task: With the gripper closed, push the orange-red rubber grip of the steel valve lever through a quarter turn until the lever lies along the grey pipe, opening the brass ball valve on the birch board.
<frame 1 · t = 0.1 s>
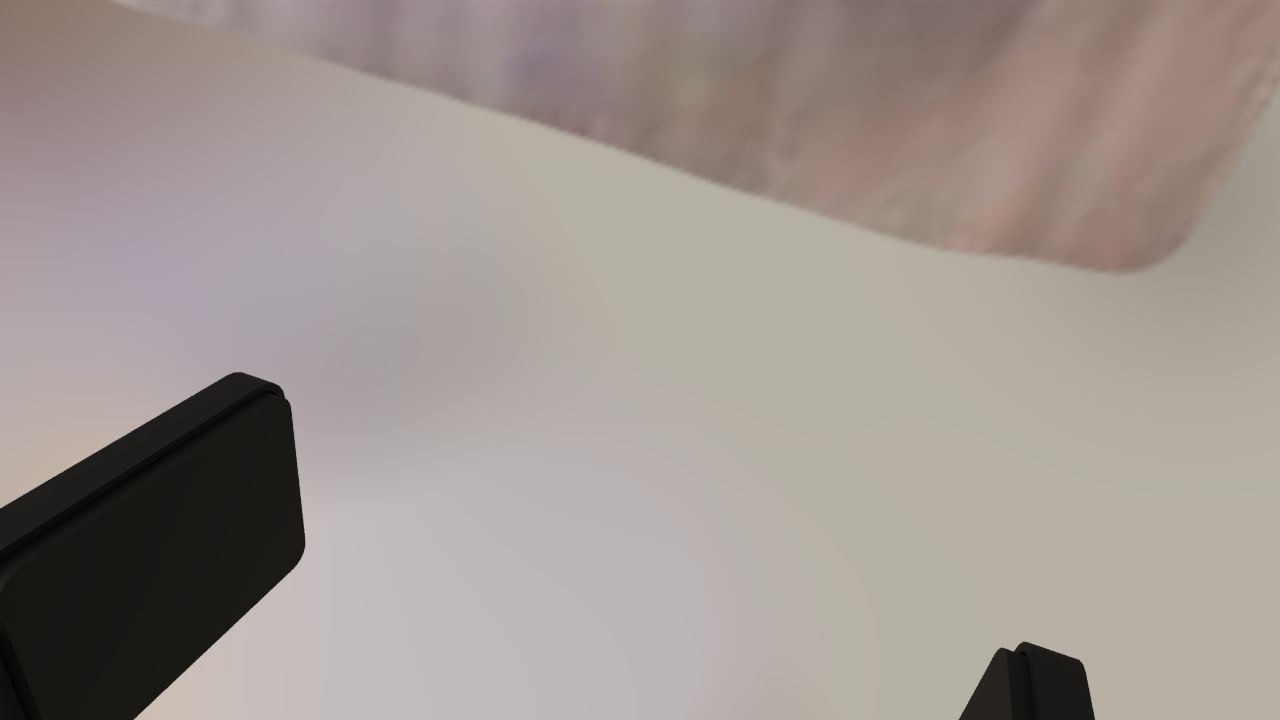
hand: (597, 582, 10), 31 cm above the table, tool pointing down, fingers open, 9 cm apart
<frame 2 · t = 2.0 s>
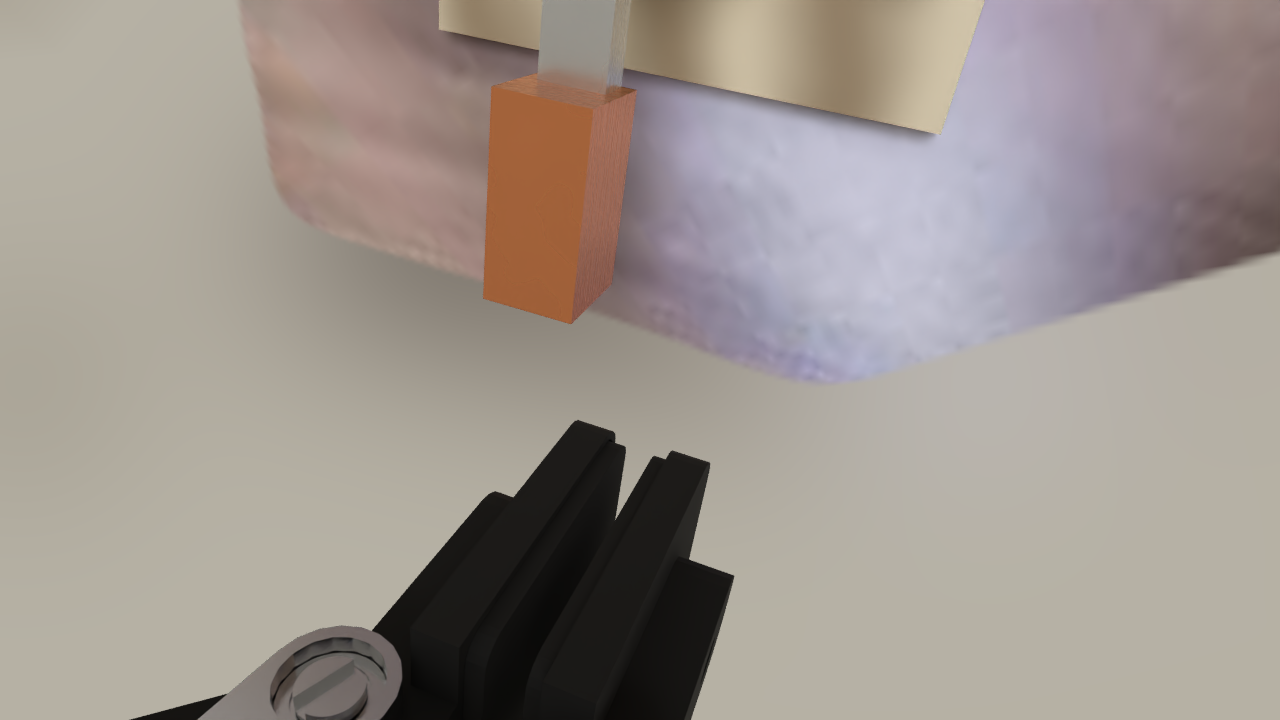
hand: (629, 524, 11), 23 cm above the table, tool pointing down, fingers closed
lever: (572, 36, 20), point 11 cm above the table, hinge at 90.0°
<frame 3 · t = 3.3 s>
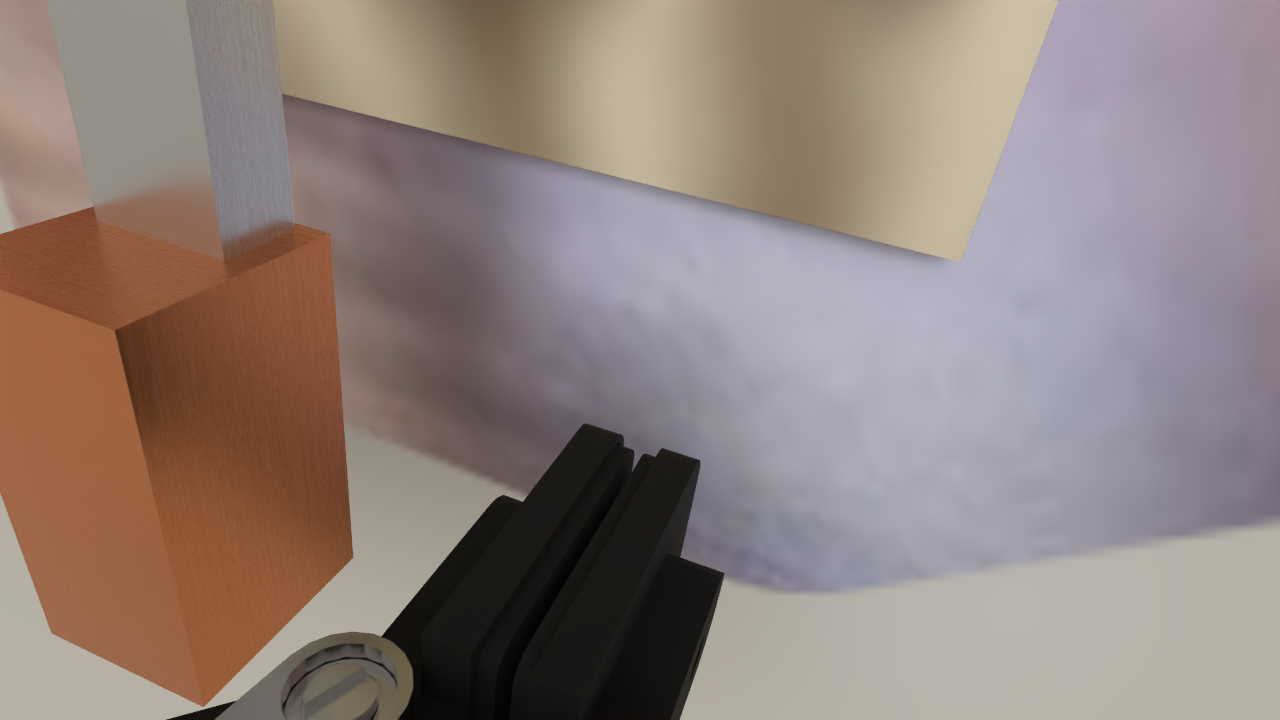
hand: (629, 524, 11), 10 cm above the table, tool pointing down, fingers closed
lever: (123, 138, 9), point 11 cm above the table, hinge at 90.0°
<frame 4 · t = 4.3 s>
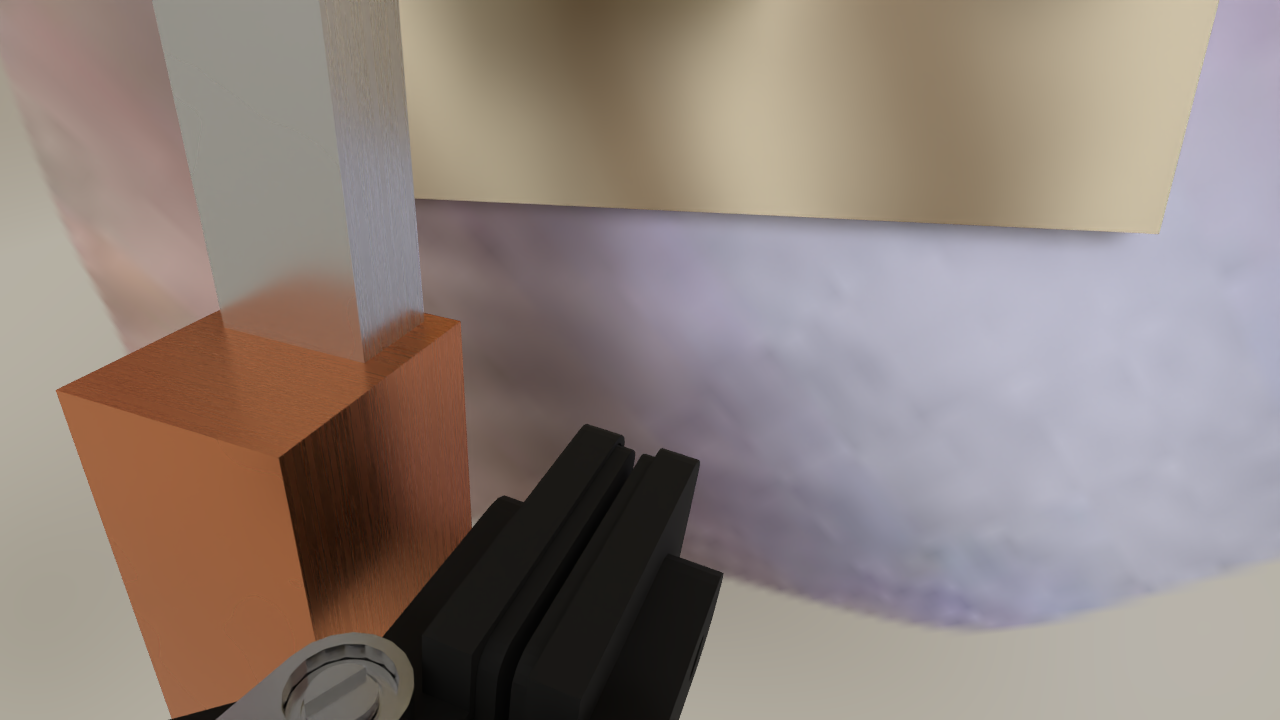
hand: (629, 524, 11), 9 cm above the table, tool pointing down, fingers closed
lever: (260, 245, 8), point 11 cm above the table, hinge at 83.0°, touching gripper
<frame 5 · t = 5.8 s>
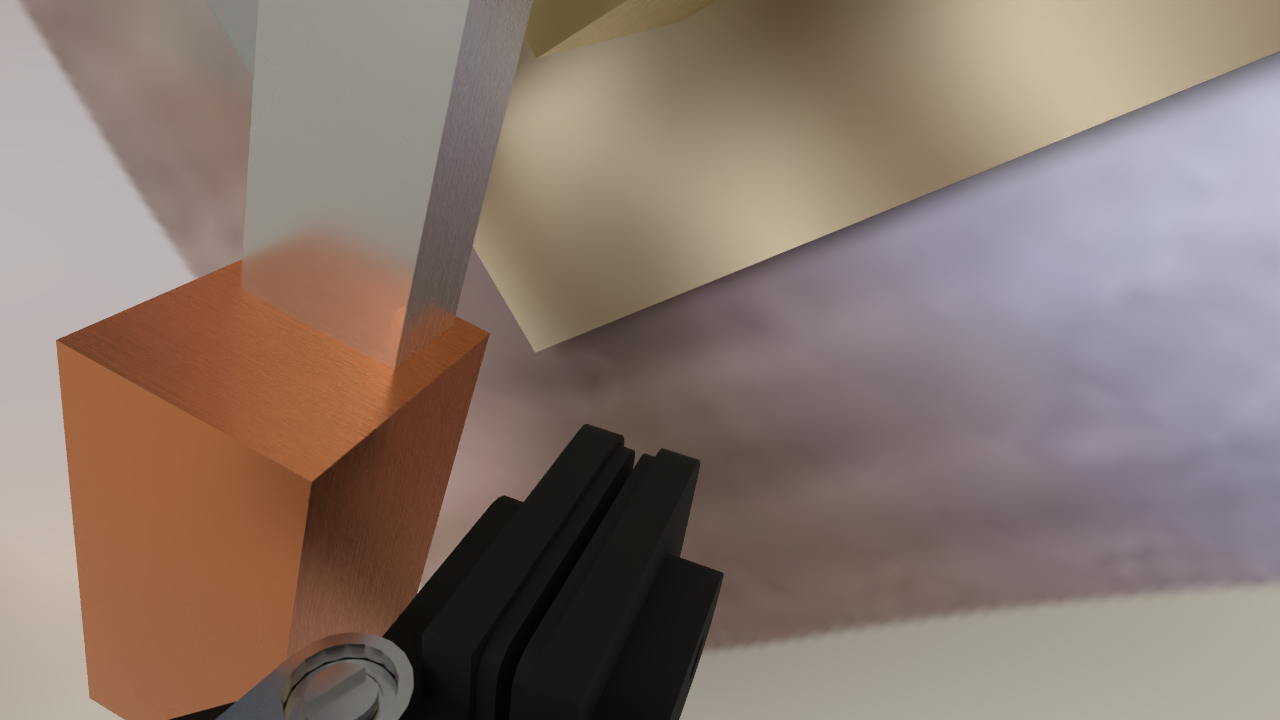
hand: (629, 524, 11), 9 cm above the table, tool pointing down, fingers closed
lever: (316, 230, 8), point 11 cm above the table, hinge at 40.4°, touching gripper
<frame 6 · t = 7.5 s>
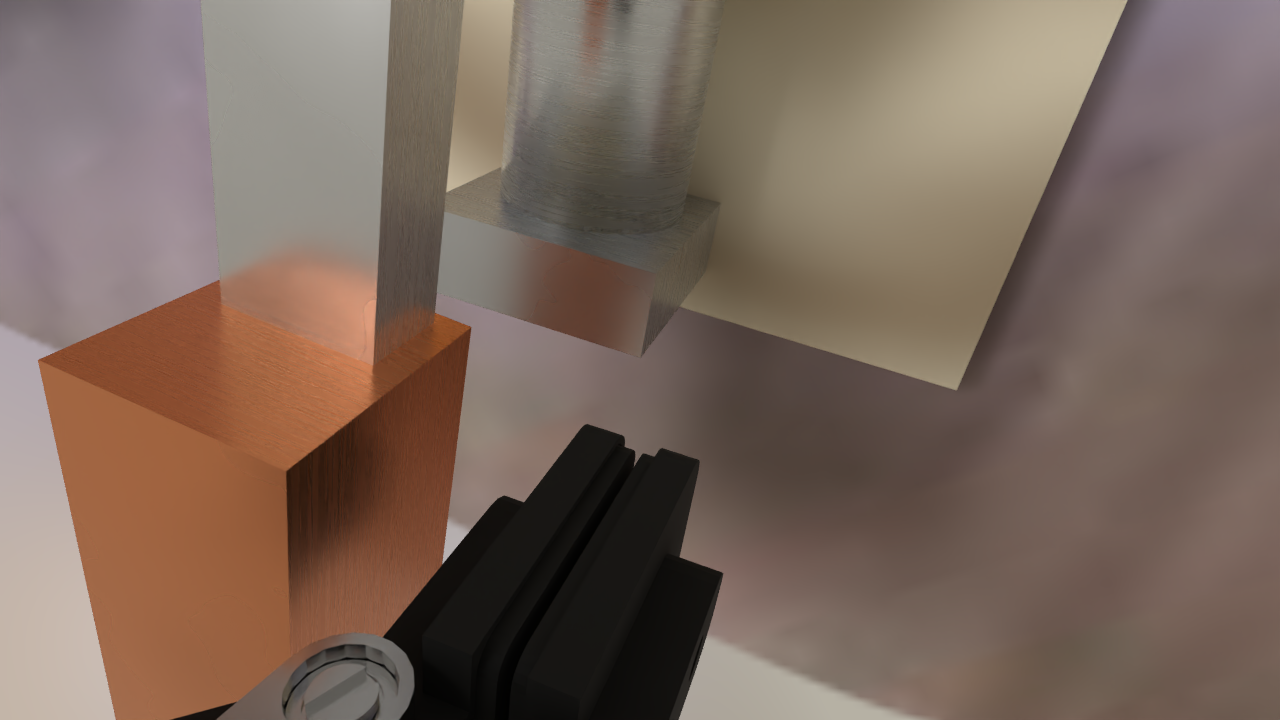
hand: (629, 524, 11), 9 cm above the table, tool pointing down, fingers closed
lever: (280, 231, 8), point 11 cm above the table, hinge at -3.5°, touching gripper
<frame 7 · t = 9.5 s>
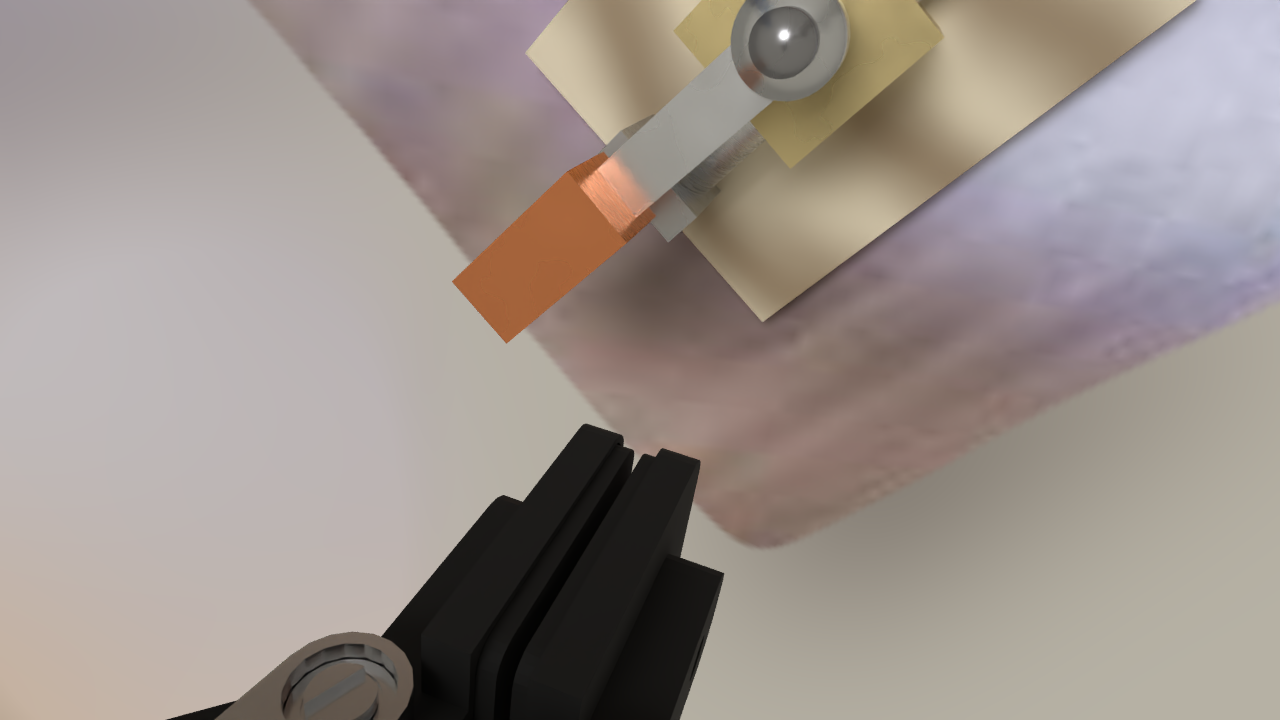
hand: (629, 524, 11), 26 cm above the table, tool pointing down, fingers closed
valve body: (811, 29, 27), on the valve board, point 6 cm above the table
lever: (642, 169, 24), point 11 cm above the table, hinge at -2.3°
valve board: (827, 22, 31), on the table
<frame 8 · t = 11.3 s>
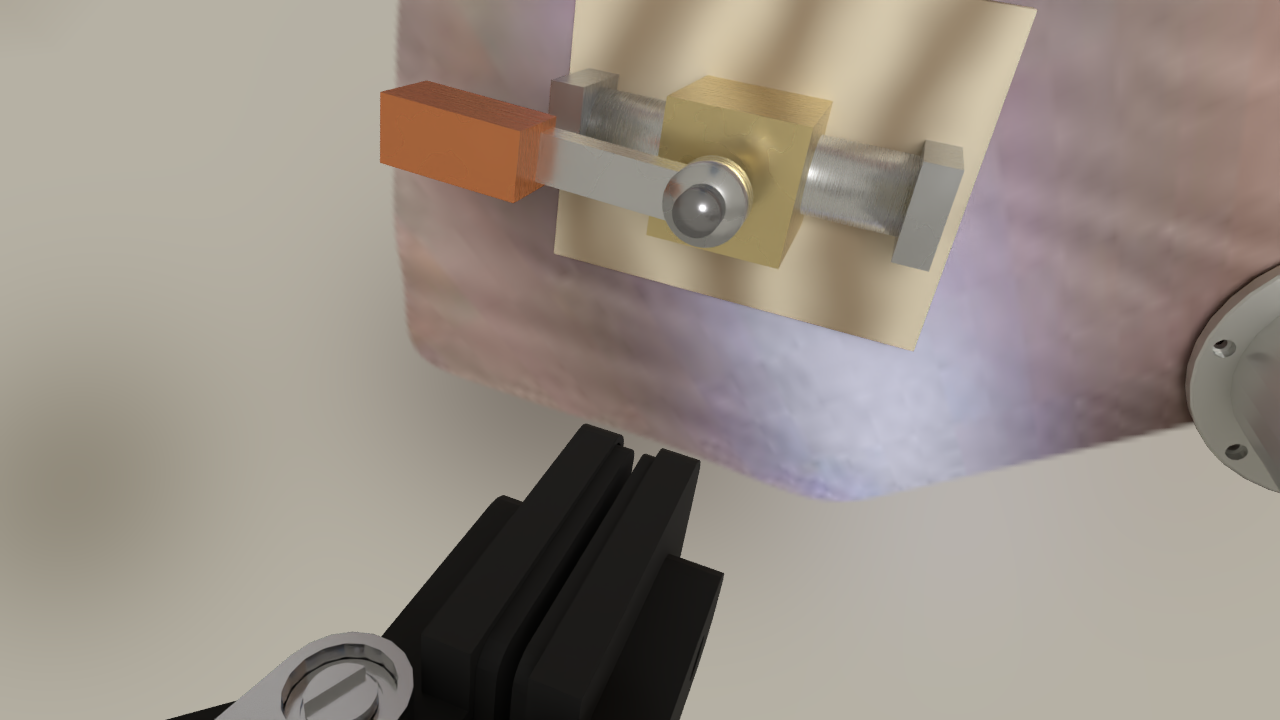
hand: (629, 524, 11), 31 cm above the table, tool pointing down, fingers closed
valve body: (737, 171, 34), on the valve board, point 6 cm above the table
lever: (565, 167, 30), point 11 cm above the table, hinge at -2.3°
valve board: (761, 145, 39), on the table
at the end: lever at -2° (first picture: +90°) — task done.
